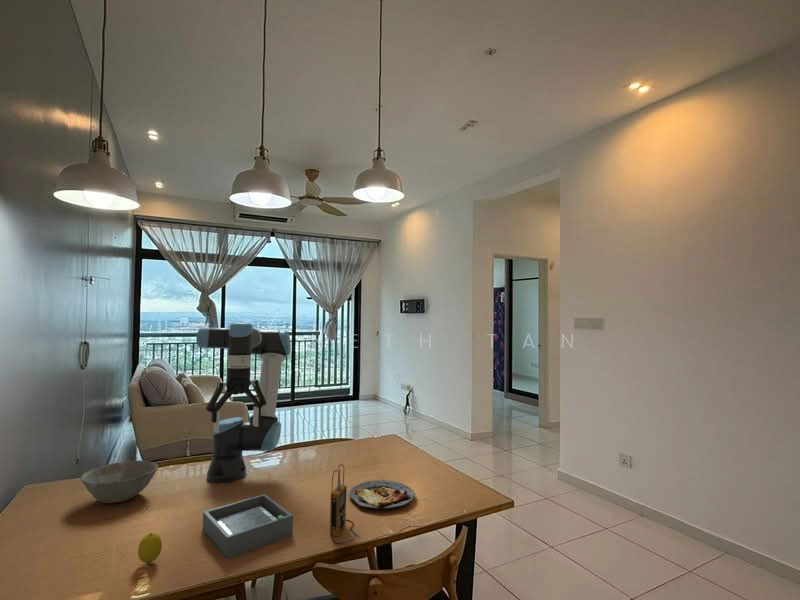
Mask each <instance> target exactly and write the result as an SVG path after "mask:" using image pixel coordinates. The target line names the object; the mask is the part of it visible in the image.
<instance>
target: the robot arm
mask: <svg viewBox="0 0 800 600" xmlns="http://www.w3.org/2000/svg"><path fill="white" fill-rule="evenodd" d="M195 340H196V345H197V346H198V348H204V349H226V350H228V351H227V353H228V354H227V367H228V368H227V370H226V371H227V374H226V375H227V376H226V379H227V380H226V382H220V381H218V382H217V384H216V389H215V391H214V393H213V394H212V395H211V397H210V400H209V401H208V403H207V405H206V407H205V411H207V412H210V413H211V423H213V433H212V458H211V461H210V462H209V463H210V464H209V466H208V469H207V473H206V479H207V481H209V482H211V483H220V484H221V483H230V482H234V481H238V480H241V479H242V478H243V477H245V476H246V474H247V466H246V463H245V460H244V455H243V451H244V452H257V451H258V452H268V451H273V450H275V449H276V447H277V445H278V443H279V441H280V437H281V432H282V431H281V430H282V424H281V422H280V421H279V417H278V416H277V415H276V411H277V410H276V409H277V402H278V395H279V387H280V379H281V371H282V365H283V362H284V361H286V359H287V356H289V355H291V351H292V347H291V346H292V345H291V338H290V333H289V332H288V331H287V330H284V329H281V330H280V329H257V328H253V324H252V323H247V322H246V323H245V322H244V323H243V322H233V323H230V325H229V328H228V327H209V326H208V327H201V328H199V329H198V331H197V333H196V339H195ZM252 355H259V358H260V359H261V361H262V363H261V370H260V376H259V380H258V379H255V378H253V380H251V367H250V366H251V364H252ZM251 386H252V387H253V391H254V392H255V393H256V396H255V395H254V393H252V391H251V389H249V388H250V387H251ZM225 388H226V391H224V393H223V395H222V396H221V394H222V392H223V390H224V389H225ZM244 394H245V395H246V396H247V397H248V399H250V401H251V402H252V404H253V405H255V406H253V410H252V411H253V412H252V414H251V416H249V421H245V419H244V418H243V417H241V416H239V417H230V418H226V419H222V420H220V418H221V417H220V416H221V415H220V414H221V413H220V412H219V411H220V410H221V408H222V407H223V405H225V403H226V402H227V401H228V399H230V398H231V396H233V395H234V396H236V395H244ZM220 396H221V397H220Z"/></svg>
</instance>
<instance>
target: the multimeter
mask: <svg viewBox="0 0 800 600" xmlns="http://www.w3.org/2000/svg"><path fill="white" fill-rule="evenodd" d="M341 466H342V467H343V469H345V466H344V464H339V465H338V467H341ZM335 472H337V475H338V477H337V486H336V487H335V488H334V489H333V490H332V491H331V493H330V507H329V508H330V509H329V513H330V514H329V536H331V540H332V542H333V543H334V544H336V545H341V544H343V543H344V544H345V543H347V542H349V541H351V540H352V539H354V538H356V537H359V538H360V539H361V538H362V537H361V536H360V534H358V532H356V531H355V530H352V528H353V527H354V525H355V524H354V522H353V521H352V520H349V519H346V518H347V517H346V516H347V485H345V471H343V472H342V473H343V474H342V482H343V483H342V484H343V485H342V484H341V469H340V468H338V470H337V469H336V470H334V471H333V473H332V478H331V486H334V485H333V481H334V474H335ZM346 521H347V522H350V523H352V525H351V526H350V527H349V529H350V531H351V532H352V533H353V534H355V535H356V536H353V537H350V538H348V539H345V540H343V541H342V542H339V543H338V542H336V541H335V540H334V537H339V536H340V534H341V532H342V531H343V530H344V528H345V527H346Z"/></svg>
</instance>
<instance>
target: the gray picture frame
mask: <svg viewBox="0 0 800 600" xmlns="http://www.w3.org/2000/svg"><path fill="white" fill-rule="evenodd" d="M275 519H276V518H275V517H274V516H273V515H271V514H270V513H269V512H268V511H266V510H265V509H264V508H263V507H262V506H258V507H255V508H252V509H248V510H245V511H242V512H239V513H235V514H232V515H229V516H226V517H222V518H219V519H216V521H217V522H218V523H219V524H220V526H221V527H222V528H223V529H224V530H225V531H226V532H227V533H228V534H229V535H232V534H234V533H237V532H240V531H243V530H246V529H249V528H252V527H255V526H258V525H261V524H264V523H267V522H270V521H272V520H275Z"/></svg>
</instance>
